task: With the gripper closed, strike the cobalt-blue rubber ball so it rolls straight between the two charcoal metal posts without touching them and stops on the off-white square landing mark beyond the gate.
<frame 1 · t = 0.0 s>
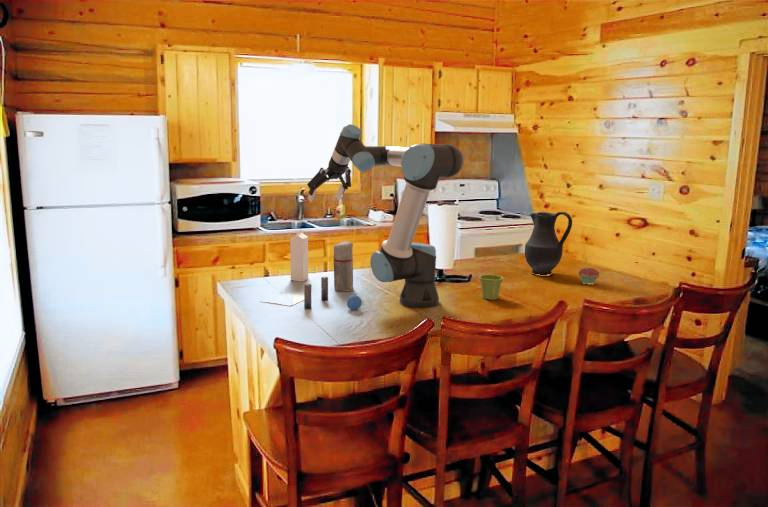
hand: (323, 199, 260), 36 cm above the countertop, tool tilted 35°, fingers open, 13 cm apart
ball: (354, 302, 226), on the countertop
pitcher: (545, 275, 287), on the countertop
landing mark: (285, 299, 239), on the countertop
left post: (307, 308, 228), on the countertop
cupcake: (588, 284, 271), on the countertop
right post: (324, 300, 239), on the countertop
plant pot: (490, 298, 246), on the countertop
milk: (299, 280, 270), on the countertop
spray can: (343, 289, 255), on the countertop
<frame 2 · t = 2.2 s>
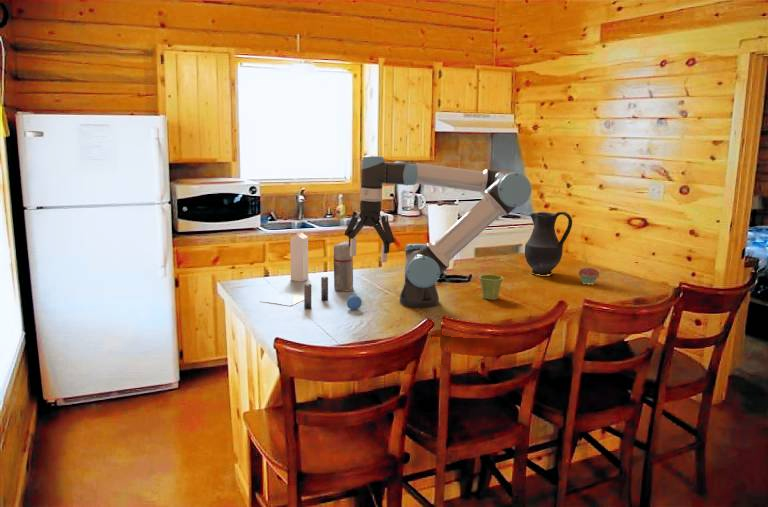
hand: (368, 258, 221), 20 cm above the countertop, tool pointing down, fingers open, 13 cm apart
nothing on the countertop moved.
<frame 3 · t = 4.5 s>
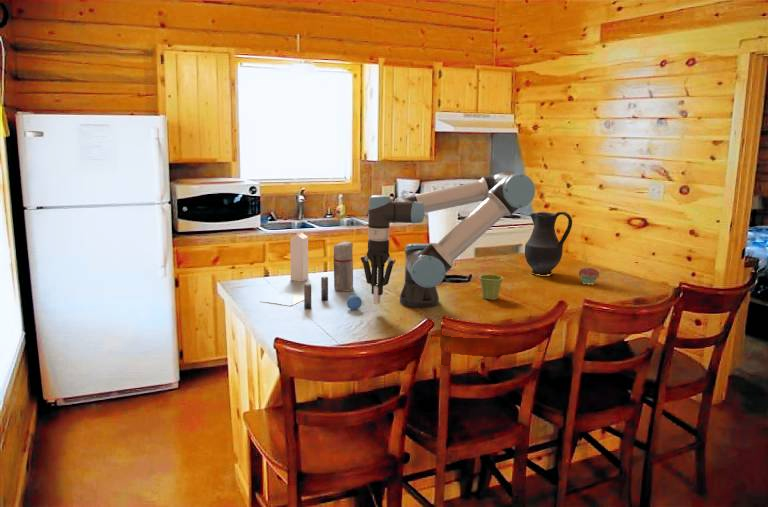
hand: (376, 303, 222), 4 cm above the countertop, tool pointing down, fingers closed
nothing on the countertop moved.
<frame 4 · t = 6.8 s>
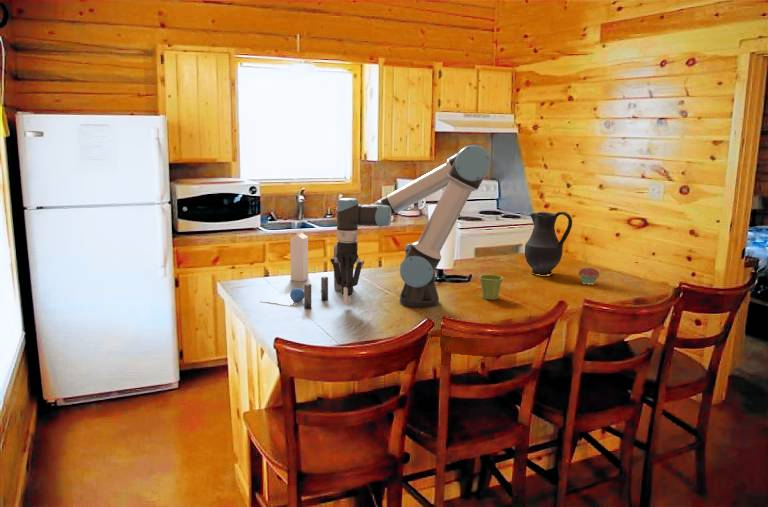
hand: (347, 303, 228), 2 cm above the countertop, tool pointing down, fingers closed
ball: (297, 295, 235), on the countertop
everything else where it was.
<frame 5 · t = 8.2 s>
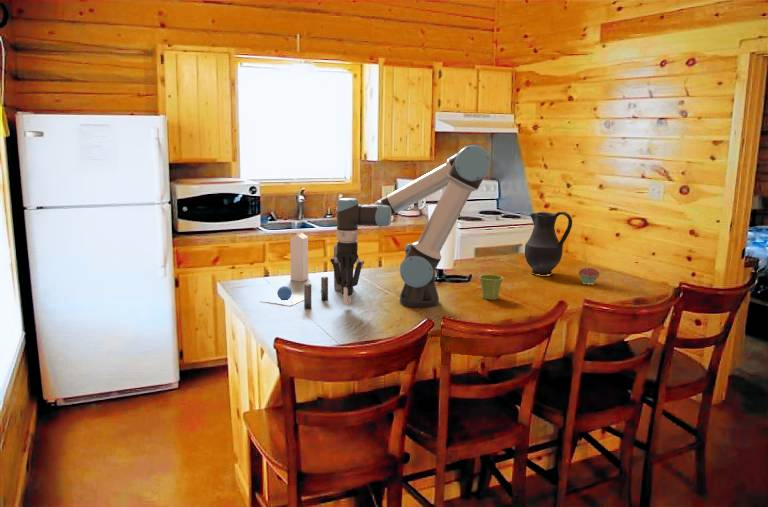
hand: (347, 303, 228), 2 cm above the countertop, tool pointing down, fingers closed
ball: (284, 293, 237), on the countertop
everything else where it was.
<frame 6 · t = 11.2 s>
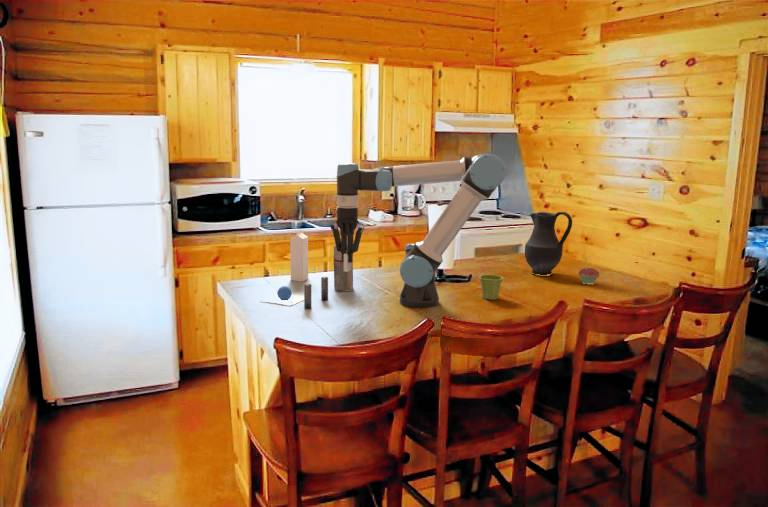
hand: (347, 270, 225), 14 cm above the countertop, tool pointing down, fingers closed
nothing on the countertop moved.
at the end: ball 1.0 cm from the landing mark (horizontally); ball never touched left post; ball never touched right post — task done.
